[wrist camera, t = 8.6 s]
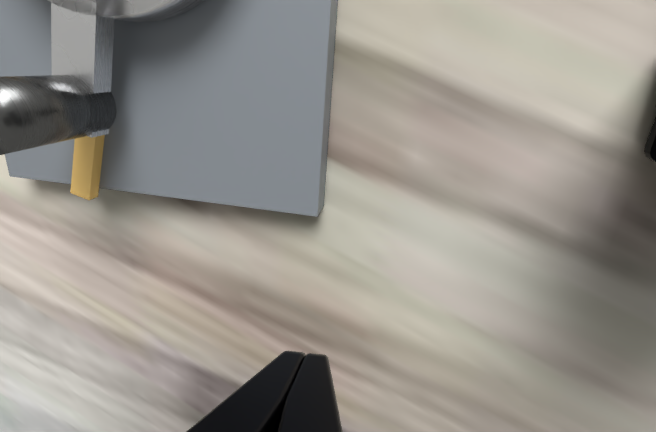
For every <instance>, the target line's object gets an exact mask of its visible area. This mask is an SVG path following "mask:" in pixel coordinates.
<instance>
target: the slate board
mask: <svg viewBox="0 0 656 432" xmlns="http://www.w3.org/2000/svg"><path fill="white" fill-rule="evenodd" d="M337 5H338V0H204V1H202V2H201V3H199V4H198V5H196V6H195V7H193V8H192V9H190V10H188V11H186V12H183V13H181V14H179V15H177V16H174V17H171V18H167V19H163V20H159V21H150V22H133V21H123V20H117V19H115V20H114V40H113V59H112V79H111V93H112V95H113V97H114V100H115V103H116V118H115V121H114V123H113V125H112V126H111V128H110V129H109V134H106V135H101V136H97V137H93V138H91V137H88V136H85V137H80V138H76V139H71V140H67V141H62V142H58V143H53V144H49V145H44V146H39V147H35V148H30V149H26V150H21V151H17V152H12V153H8V154H5V157H6V162H7V166H8V170H9V175H10V176H12V177H20V178H28V179H35V180H43V181H50V182H58V183H65V184H71V192H70V193H72V194H74V195H77V196H79V197H82V198H84V199H87V200H91V199H94V198H96V197H98V192H99V188H103V189H111V190H119V191H126V192H134V193H141V194H149V195H157V196H164V197H172V198H179V199H187V200H195V201H202V202H210V203H217V204H225V205H233V206H240V207H248V208H255V209H263V210H270V211H278V212H286V213H293V214H301V215H308V216H316V217H317V216H318V215H319V213H320V211H321V210H322V208H323V206H324V195H325V180H326V165H327V151H328V136H329V122H330V107H331V92H332V78H333V63H334V49H335V34H336V19H337ZM40 75H52V57H51V2H50V1H48V0H0V77H4V76H40Z"/></svg>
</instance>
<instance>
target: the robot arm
mask: <svg viewBox="0 0 656 432" xmlns="http://www.w3.org/2000/svg"><path fill="white" fill-rule="evenodd" d="M644 152H645V155H646V157H647V158H649V159H650V160H653V161H655V162H656V118H655V121H654V124H653V126H652V129H651V132H650V135H649V137H648V140H647V143H646V146H645V151H644ZM187 432H342V427H341V422H340V417H339V411H338V406H337V401H336V396H335V391H334V386H333V381H332V376H331V370H330V365H329V360H328V357H327V356H326V355H321V354H312V353H309V354H307V355H305V354H304V353H303V352H294V351H285V352H283V353H282V354H280V355H279V356H278V357H277V358H275V359H274V360H273V361H272V362H271V363H269V364H268V365H267V366H266V367H265V368H263V369H262V370H261V371H260V372H258V373H257V374H256V375H255V376H254V377H252V378H251V379H250V380H249V381H247V382H246V383H245V384H244V385H243V386H241V387H240V388H239V389H238V390H237V391H235V392H234V393H233V394H232V395H230V396H229V397H228V398H227V399H226V400H224V401H223V402H222V403H221V404H220V405H218V406H217V407H216V408H215V409H213V410H212V411H211V412H210V413H209V414H207V415H206V416H205V417H204V418H202V419H201V420H200V421H199V422H198V423H196V424H195V425H194V426H193V427H192V428H190V429H189V430H188V431H187Z"/></svg>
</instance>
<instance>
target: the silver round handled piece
mask: <svg viewBox="0 0 656 432" xmlns="http://www.w3.org/2000/svg"><path fill="white" fill-rule="evenodd" d="M48 1H50V2H51V57H52V75H40V76H4V77H0V155H3V154H8V153H12V152H17V151H21V150H26V149H30V148H35V147H39V146H44V145H49V144H53V143H58V142H62V141H67V140H71V139H76V138H80V137H85V136H88V137H91V138H93V137H97V136H101V135H106V134H109V129H110V128H111V126H112V125H113V123H114V121H115V118H116V103H115V100H114V97H113V95H112V93H111V79H112V59H113V40H114V20H115V19H117V20H123V21H133V22H150V21H159V20H163V19H167V18H171V17H174V16H177V15H179V14H181V13H183V12H186V11H188V10H190V9H192V8H193V7H195V6H196V5H198V4H199V3H201V2H202V1H204V0H48Z"/></svg>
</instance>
